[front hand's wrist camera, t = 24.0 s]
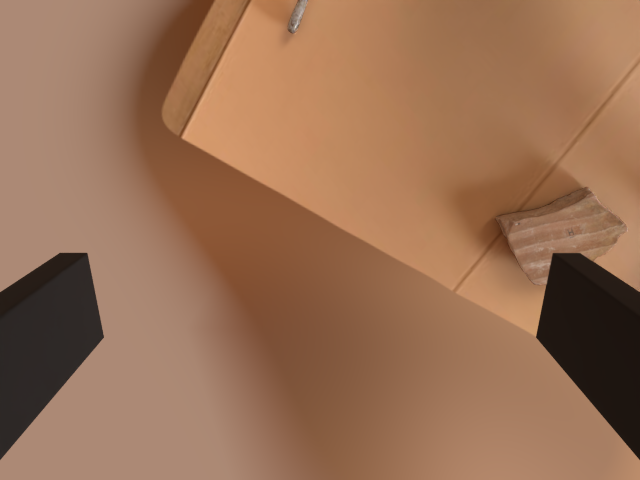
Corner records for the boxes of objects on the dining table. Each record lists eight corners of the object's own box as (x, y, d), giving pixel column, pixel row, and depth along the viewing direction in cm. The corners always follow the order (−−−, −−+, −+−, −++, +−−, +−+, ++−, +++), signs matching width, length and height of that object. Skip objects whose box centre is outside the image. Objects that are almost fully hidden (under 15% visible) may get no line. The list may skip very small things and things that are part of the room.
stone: (529, 291, 57) (538, 301, 55) (491, 218, 54) (500, 224, 52) (623, 243, 55) (637, 250, 53) (591, 163, 52) (604, 167, 49)
